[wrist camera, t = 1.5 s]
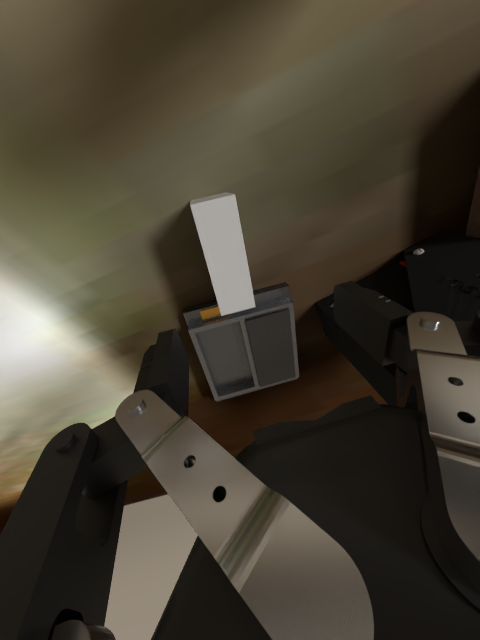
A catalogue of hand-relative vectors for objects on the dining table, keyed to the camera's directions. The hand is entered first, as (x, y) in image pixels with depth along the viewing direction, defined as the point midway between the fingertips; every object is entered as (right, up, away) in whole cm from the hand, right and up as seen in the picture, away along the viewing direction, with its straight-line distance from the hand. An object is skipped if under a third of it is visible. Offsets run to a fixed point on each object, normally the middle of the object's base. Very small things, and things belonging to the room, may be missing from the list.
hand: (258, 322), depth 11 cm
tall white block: (-3, +8, +14) cm, 16 cm away
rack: (0, -3, +21) cm, 21 cm away
